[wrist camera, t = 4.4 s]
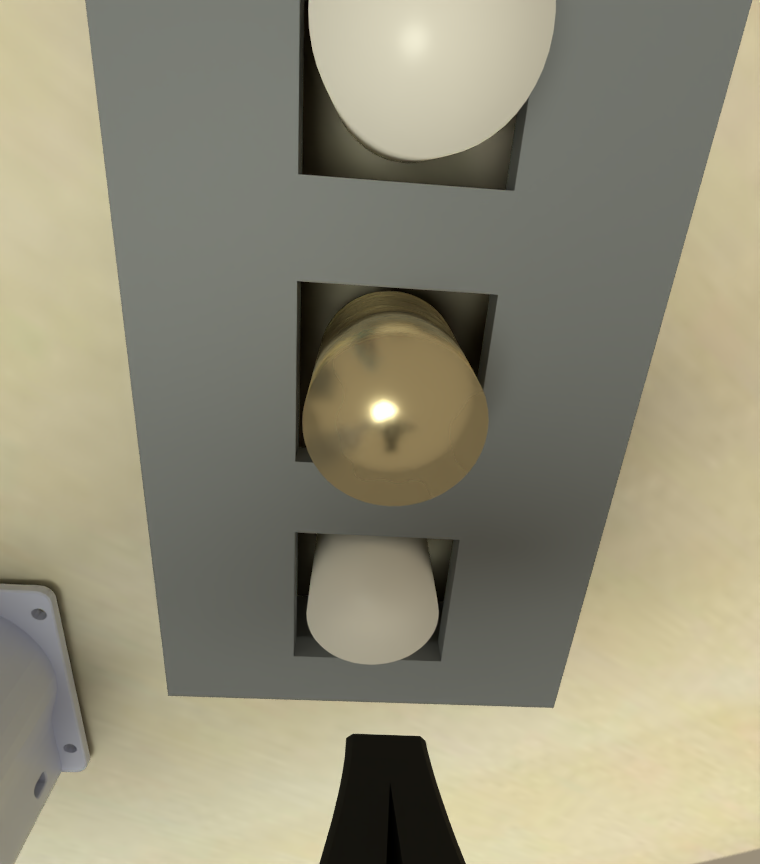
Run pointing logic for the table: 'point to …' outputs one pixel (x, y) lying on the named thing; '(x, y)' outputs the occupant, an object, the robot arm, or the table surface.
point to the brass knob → (393, 403)
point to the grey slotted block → (398, 268)
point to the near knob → (429, 69)
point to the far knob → (371, 597)
